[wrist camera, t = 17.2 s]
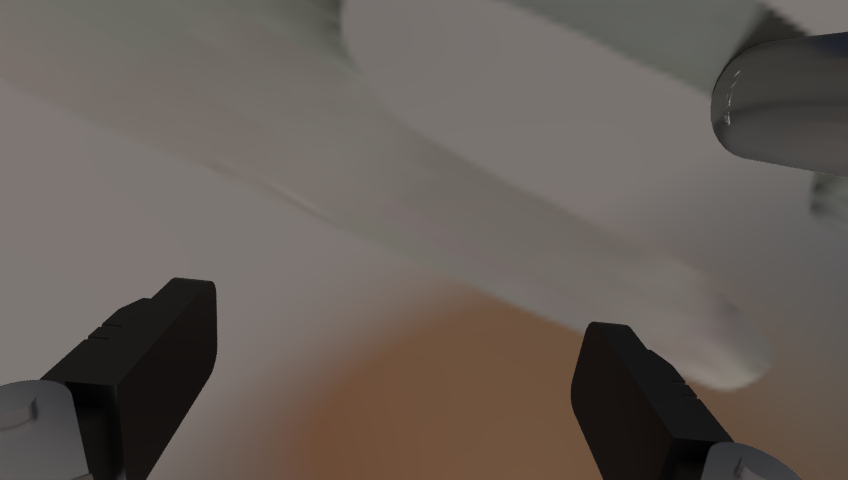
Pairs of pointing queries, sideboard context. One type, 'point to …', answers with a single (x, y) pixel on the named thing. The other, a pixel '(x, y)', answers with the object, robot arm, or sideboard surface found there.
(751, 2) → the sideboard surface
